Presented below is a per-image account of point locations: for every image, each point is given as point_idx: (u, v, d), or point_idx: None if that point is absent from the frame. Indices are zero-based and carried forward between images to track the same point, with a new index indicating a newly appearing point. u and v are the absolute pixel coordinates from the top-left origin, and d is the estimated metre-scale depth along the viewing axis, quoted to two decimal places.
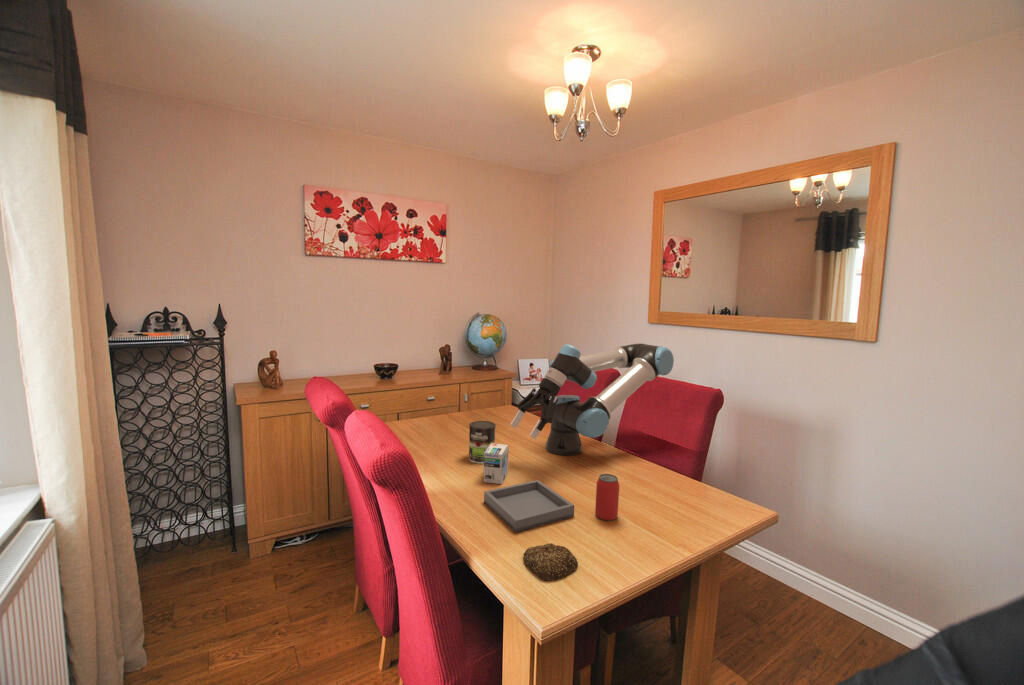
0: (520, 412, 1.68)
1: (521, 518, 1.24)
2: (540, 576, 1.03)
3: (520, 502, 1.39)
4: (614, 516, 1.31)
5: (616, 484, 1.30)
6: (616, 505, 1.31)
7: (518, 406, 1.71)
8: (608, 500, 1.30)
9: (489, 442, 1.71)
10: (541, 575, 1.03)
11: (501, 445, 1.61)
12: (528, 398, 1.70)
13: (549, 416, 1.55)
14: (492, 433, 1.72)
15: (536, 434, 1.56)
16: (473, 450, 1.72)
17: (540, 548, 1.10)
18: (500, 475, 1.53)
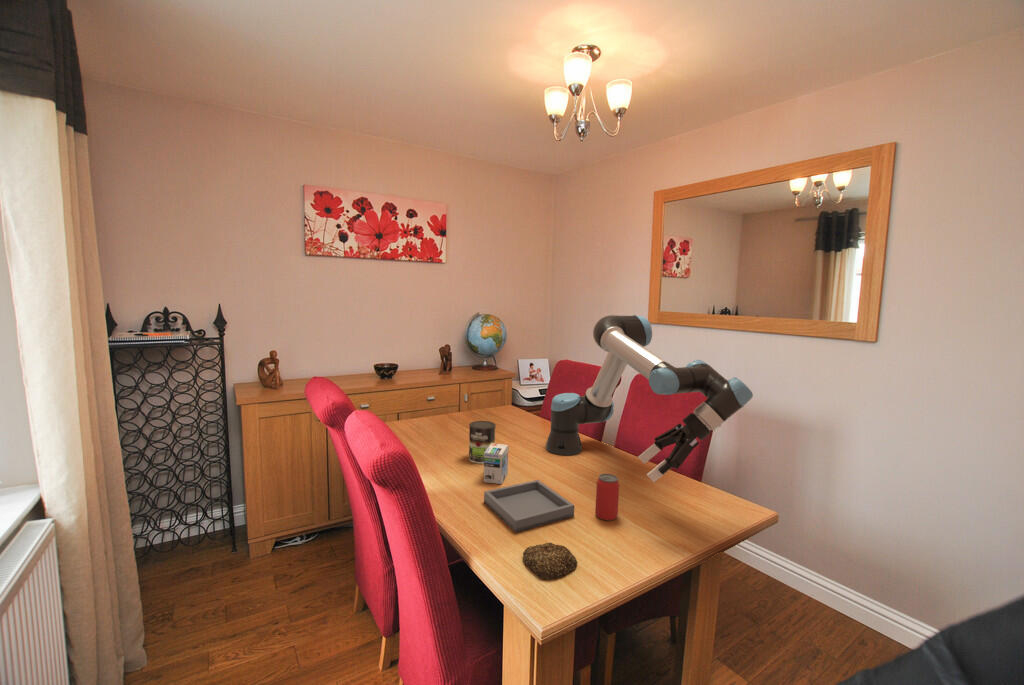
0: None
1: (521, 518, 1.24)
2: (539, 575, 1.04)
3: (520, 502, 1.39)
4: (614, 516, 1.31)
5: (616, 484, 1.30)
6: (616, 505, 1.31)
7: None
8: (608, 500, 1.30)
9: (489, 442, 1.71)
10: (540, 574, 1.03)
11: (501, 445, 1.61)
12: None
13: None
14: (492, 433, 1.72)
15: None
16: (473, 450, 1.72)
17: (539, 547, 1.10)
18: (500, 475, 1.53)
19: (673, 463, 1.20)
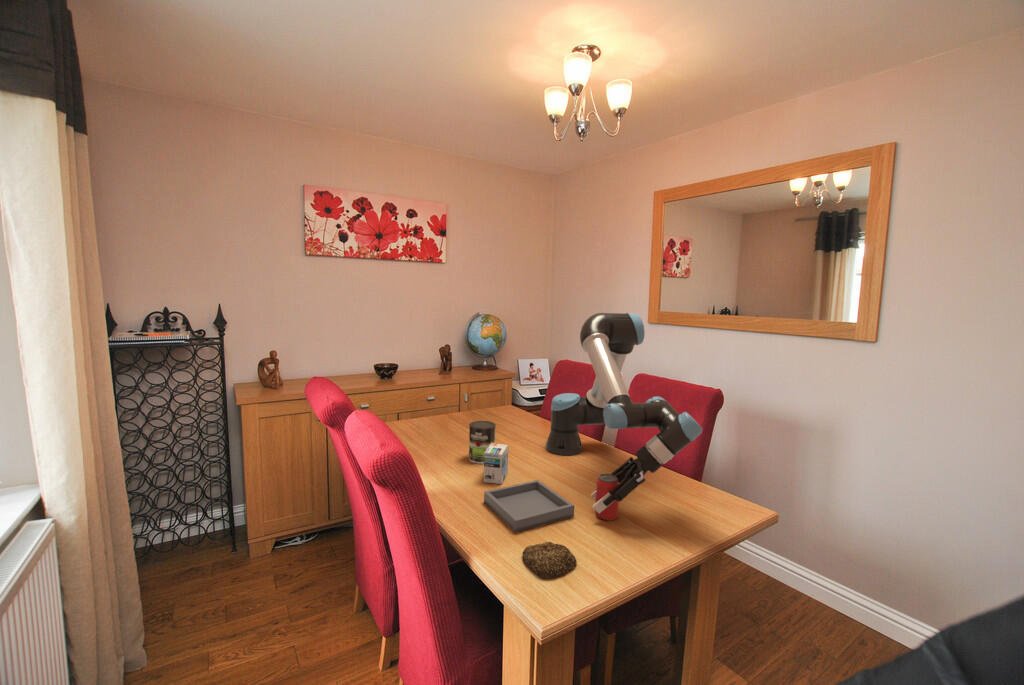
0: None
1: (521, 518, 1.24)
2: (539, 574, 1.04)
3: (520, 502, 1.39)
4: (614, 516, 1.31)
5: (616, 484, 1.30)
6: (616, 505, 1.31)
7: None
8: None
9: (489, 442, 1.71)
10: (539, 573, 1.04)
11: (501, 445, 1.61)
12: None
13: None
14: (492, 433, 1.72)
15: None
16: (473, 450, 1.71)
17: (539, 546, 1.10)
18: (500, 475, 1.53)
19: (616, 496, 1.26)
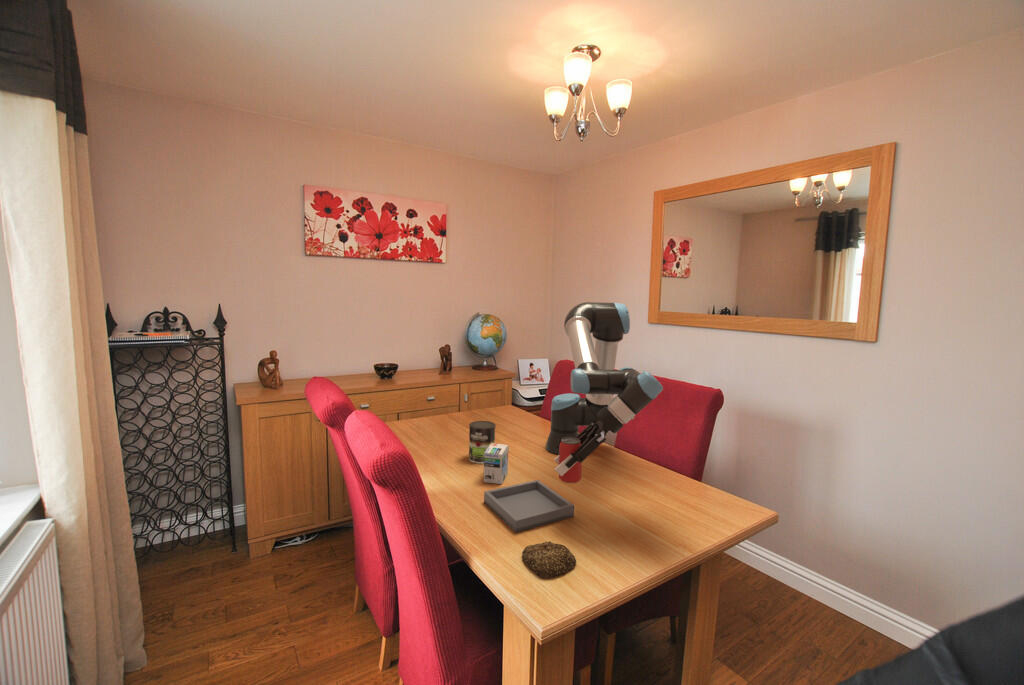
0: None
1: (521, 518, 1.24)
2: (538, 574, 1.04)
3: (520, 502, 1.39)
4: (577, 478, 1.29)
5: (578, 446, 1.29)
6: (579, 467, 1.29)
7: None
8: None
9: (489, 442, 1.71)
10: (539, 573, 1.04)
11: (501, 445, 1.61)
12: None
13: None
14: (492, 433, 1.72)
15: None
16: (473, 450, 1.72)
17: (539, 546, 1.11)
18: (500, 475, 1.53)
19: (577, 457, 1.24)
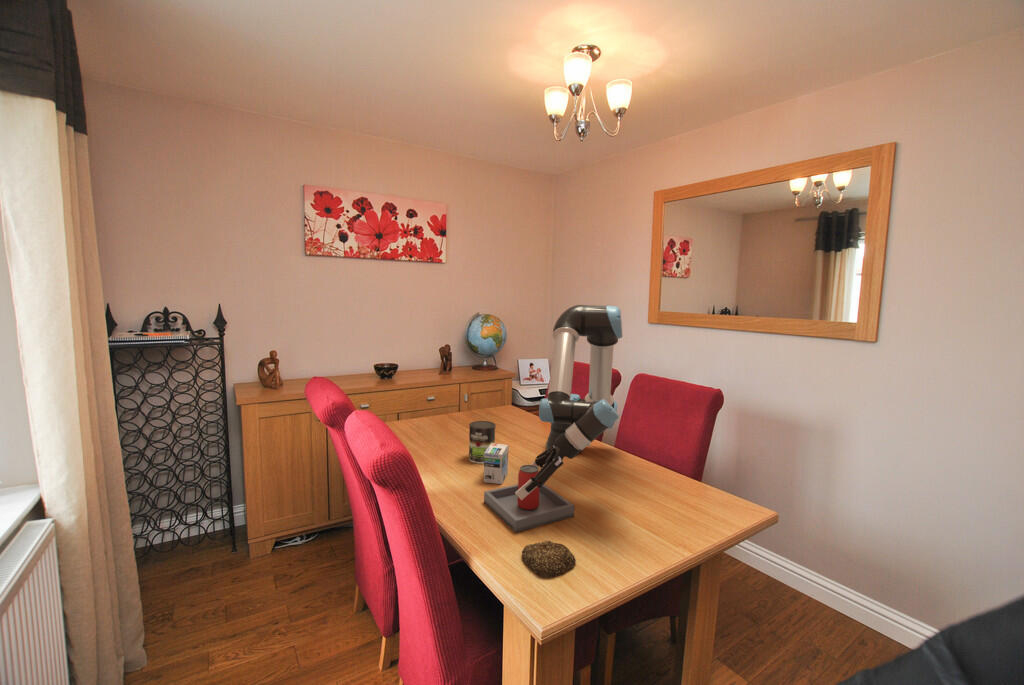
0: None
1: (521, 518, 1.24)
2: (538, 573, 1.04)
3: None
4: (534, 506, 1.34)
5: None
6: (536, 495, 1.34)
7: None
8: None
9: (489, 442, 1.71)
10: (539, 572, 1.04)
11: (501, 445, 1.61)
12: None
13: None
14: (492, 433, 1.72)
15: None
16: (473, 450, 1.72)
17: (538, 545, 1.11)
18: (500, 475, 1.53)
19: (536, 482, 1.25)
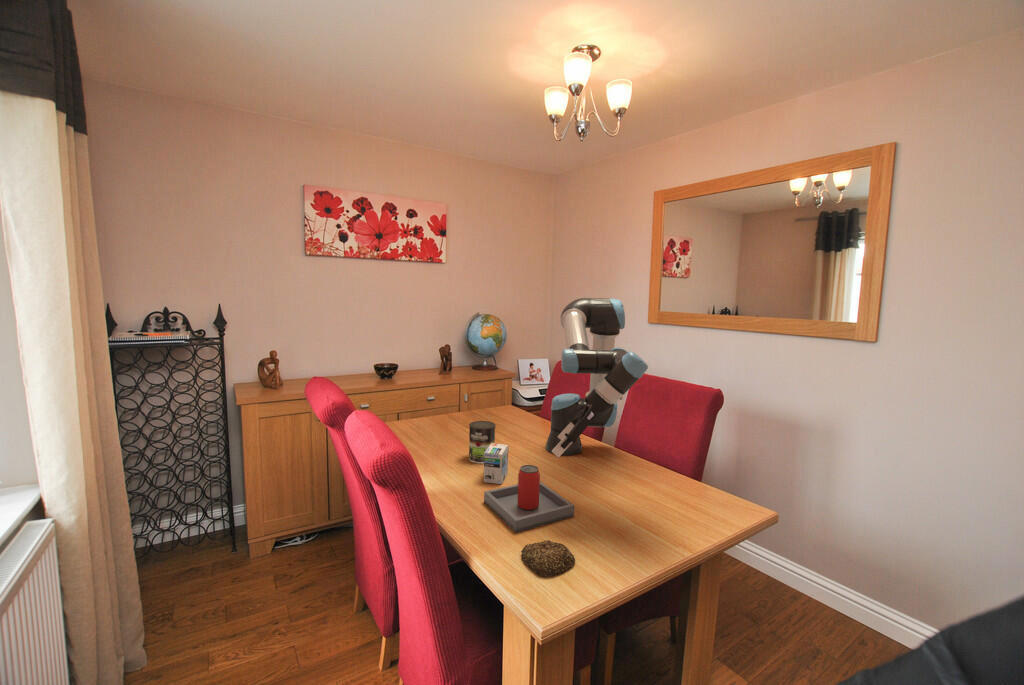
0: None
1: (521, 518, 1.24)
2: (537, 572, 1.05)
3: None
4: (534, 506, 1.34)
5: (536, 474, 1.33)
6: (536, 495, 1.34)
7: None
8: (528, 490, 1.32)
9: (489, 442, 1.71)
10: (538, 571, 1.04)
11: (501, 445, 1.61)
12: None
13: None
14: (492, 433, 1.72)
15: None
16: (473, 450, 1.72)
17: (538, 545, 1.11)
18: (500, 475, 1.53)
19: (569, 437, 1.26)
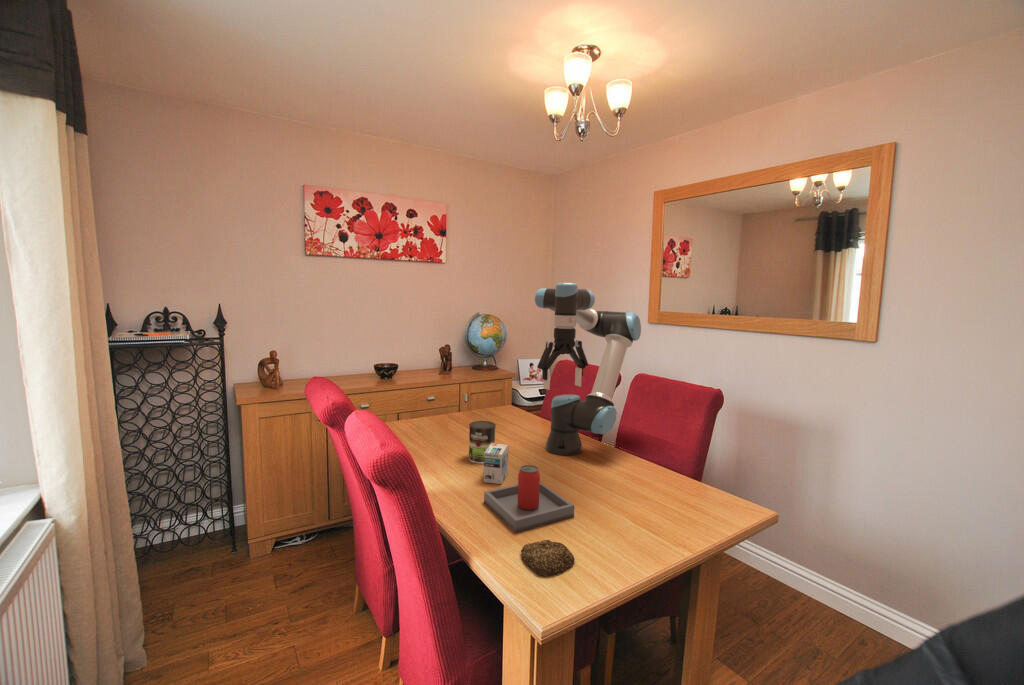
0: None
1: (521, 518, 1.24)
2: (537, 572, 1.05)
3: None
4: (534, 506, 1.34)
5: (536, 474, 1.33)
6: (536, 495, 1.34)
7: (543, 368, 1.52)
8: (528, 490, 1.32)
9: (489, 442, 1.71)
10: (538, 571, 1.05)
11: (501, 445, 1.61)
12: None
13: None
14: (492, 433, 1.72)
15: None
16: (473, 450, 1.72)
17: (537, 544, 1.11)
18: (500, 475, 1.53)
19: (538, 367, 1.53)
